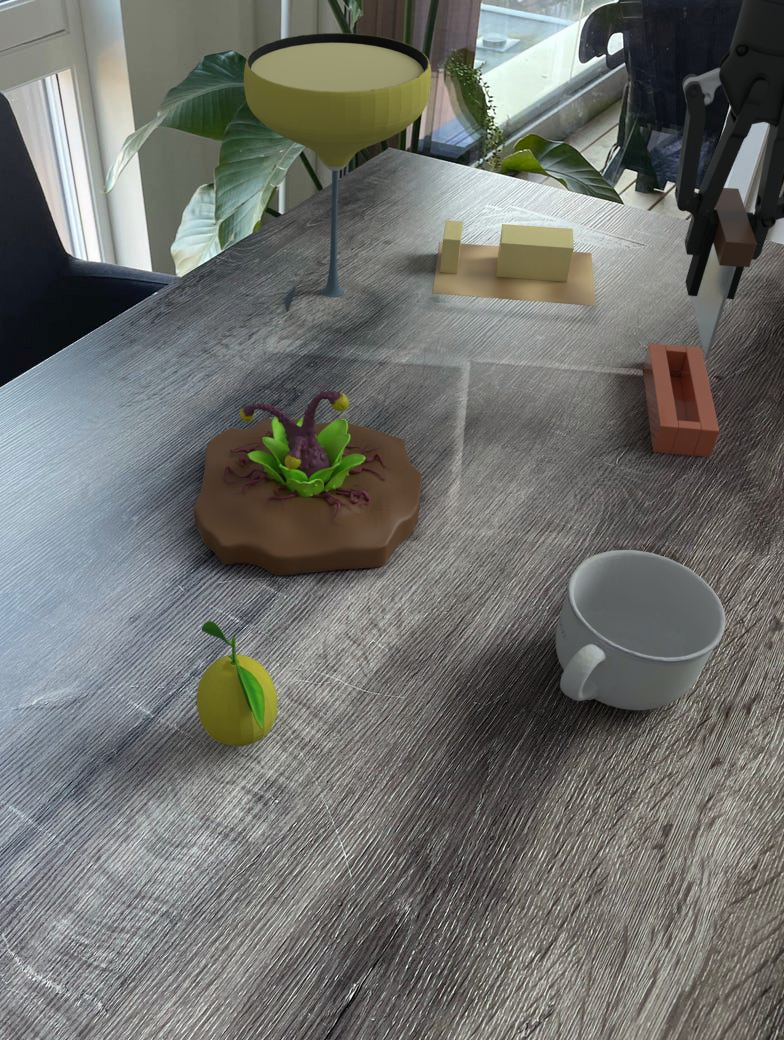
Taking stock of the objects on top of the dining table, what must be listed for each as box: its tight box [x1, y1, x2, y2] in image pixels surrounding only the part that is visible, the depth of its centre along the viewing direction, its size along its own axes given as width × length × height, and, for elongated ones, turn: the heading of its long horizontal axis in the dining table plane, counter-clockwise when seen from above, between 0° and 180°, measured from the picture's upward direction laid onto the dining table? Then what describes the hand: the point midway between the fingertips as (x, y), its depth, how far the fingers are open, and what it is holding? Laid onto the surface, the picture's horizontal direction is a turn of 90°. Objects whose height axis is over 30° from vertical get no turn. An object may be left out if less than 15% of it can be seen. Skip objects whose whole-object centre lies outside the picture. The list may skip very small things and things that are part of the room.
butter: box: [496, 223, 575, 282], centre depth 118 cm, size 8×5×4 cm, turn 81°
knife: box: [691, 187, 757, 361], centre depth 90 cm, size 2×11×10 cm, turn 171°
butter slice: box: [440, 219, 464, 274], centre depth 119 cm, size 2×5×4 cm, turn 171°
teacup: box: [555, 549, 727, 711], centre depth 74 cm, size 14×11×8 cm
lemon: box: [196, 620, 278, 747], centre depth 69 cm, size 7×6×10 cm
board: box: [431, 241, 597, 307], centre depth 120 cm, size 18×13×2 cm
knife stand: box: [641, 342, 720, 458], centre depth 100 cm, size 5×15×4 cm, turn 171°
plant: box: [192, 389, 423, 576], centre depth 87 cm, size 20×20×11 cm
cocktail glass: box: [243, 32, 432, 312], centre depth 108 cm, size 18×18×25 cm
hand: (709, 289), depth 92 cm, fingers closed on knife, 2 cm apart
